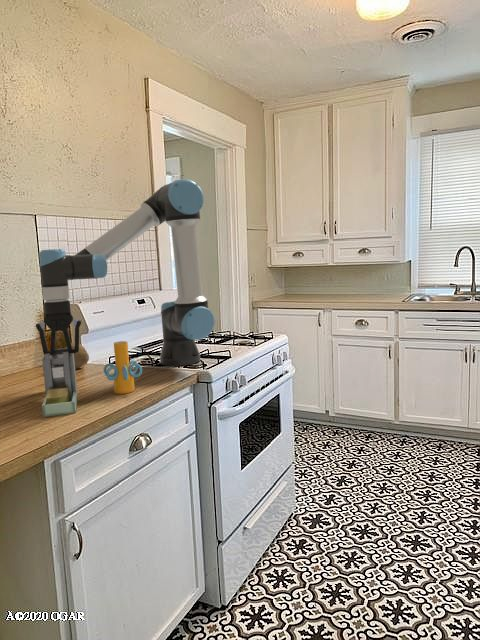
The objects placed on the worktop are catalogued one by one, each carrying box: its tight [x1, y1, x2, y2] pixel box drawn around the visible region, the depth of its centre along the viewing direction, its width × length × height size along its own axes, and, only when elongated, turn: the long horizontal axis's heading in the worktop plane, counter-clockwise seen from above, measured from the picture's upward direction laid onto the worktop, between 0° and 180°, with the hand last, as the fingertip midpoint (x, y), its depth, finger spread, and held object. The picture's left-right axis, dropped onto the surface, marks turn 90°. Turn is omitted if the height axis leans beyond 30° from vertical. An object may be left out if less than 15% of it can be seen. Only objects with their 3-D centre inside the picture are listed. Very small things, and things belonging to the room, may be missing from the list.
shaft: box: [52, 347, 69, 378], centre depth 145 cm, size 6×22×6 cm, turn 16°
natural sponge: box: [64, 341, 90, 370], centre depth 183 cm, size 9×9×10 cm
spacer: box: [46, 388, 69, 404], centre depth 132 cm, size 5×4×4 cm
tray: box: [41, 392, 78, 418], centre depth 133 cm, size 8×11×3 cm
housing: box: [42, 352, 79, 402], centre depth 139 cm, size 8×9×15 cm
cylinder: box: [103, 340, 143, 395], centre depth 147 cm, size 12×10×15 cm
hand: (63, 375), depth 153 cm, fingers closed on shaft, 3 cm apart
